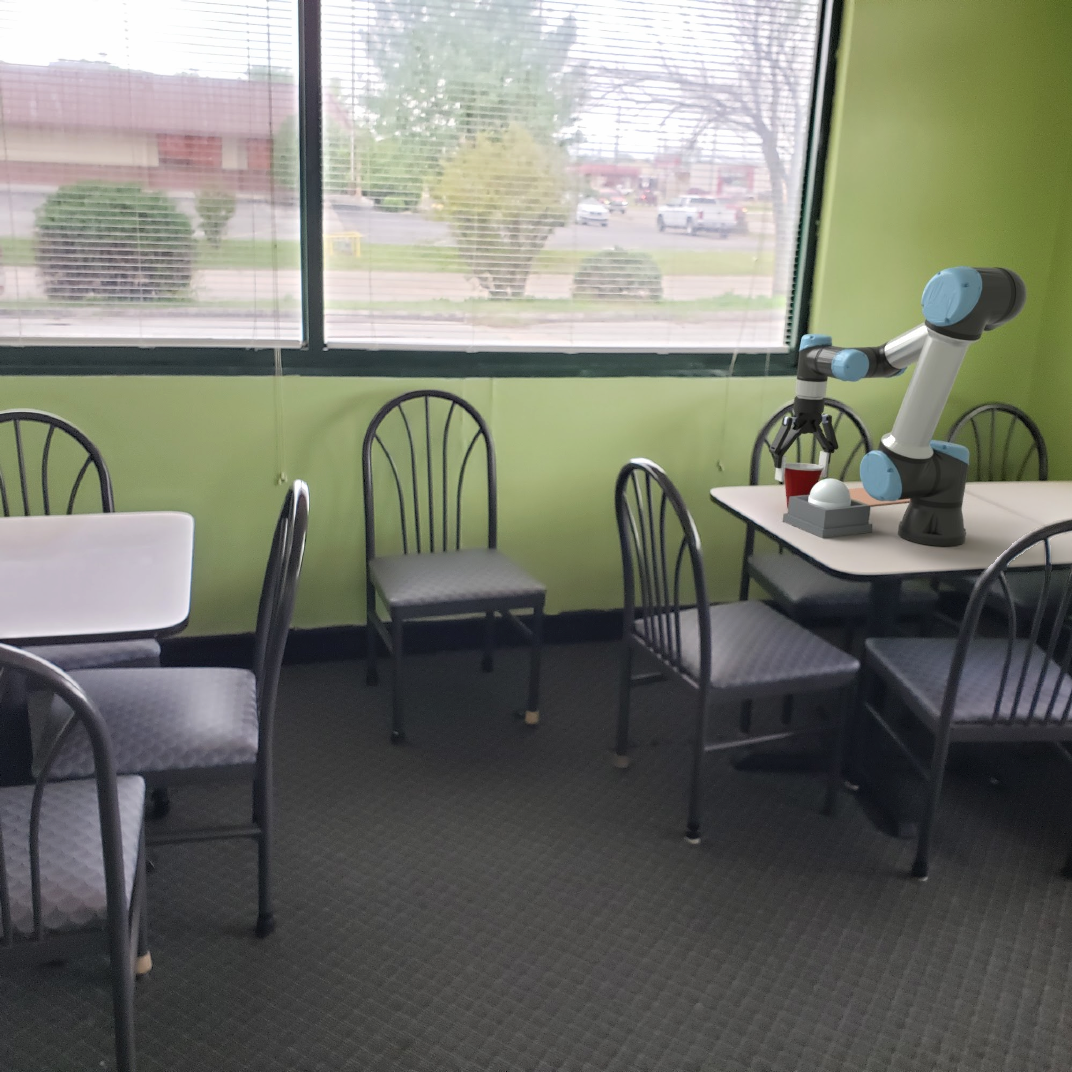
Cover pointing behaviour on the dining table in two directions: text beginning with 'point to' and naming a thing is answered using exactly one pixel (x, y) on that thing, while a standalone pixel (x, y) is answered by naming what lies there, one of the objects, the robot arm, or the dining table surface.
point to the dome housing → (828, 517)
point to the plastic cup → (801, 478)
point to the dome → (830, 494)
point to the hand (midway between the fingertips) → (800, 478)
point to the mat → (870, 498)
